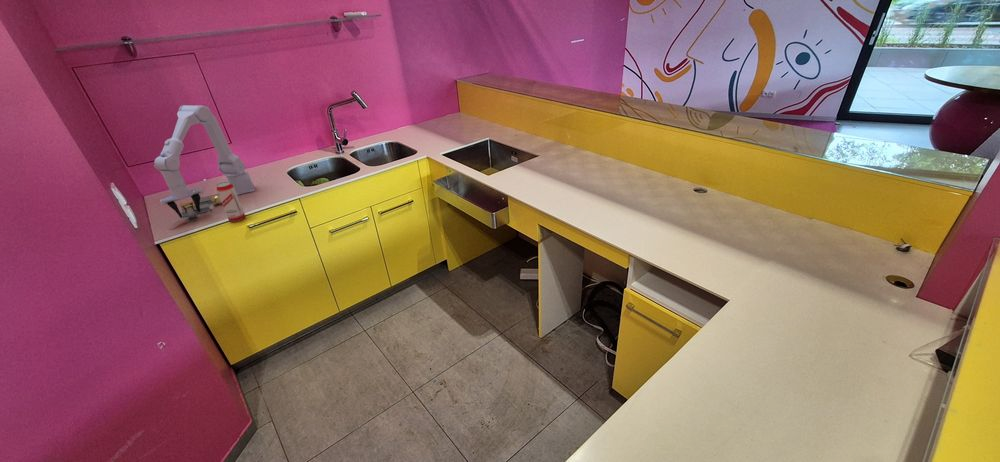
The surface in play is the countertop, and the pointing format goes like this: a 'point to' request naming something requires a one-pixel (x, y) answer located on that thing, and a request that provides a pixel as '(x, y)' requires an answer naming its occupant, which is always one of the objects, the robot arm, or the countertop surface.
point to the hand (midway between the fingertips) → (190, 214)
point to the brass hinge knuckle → (202, 208)
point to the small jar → (189, 210)
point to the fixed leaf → (210, 200)
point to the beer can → (230, 201)
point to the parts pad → (192, 220)
